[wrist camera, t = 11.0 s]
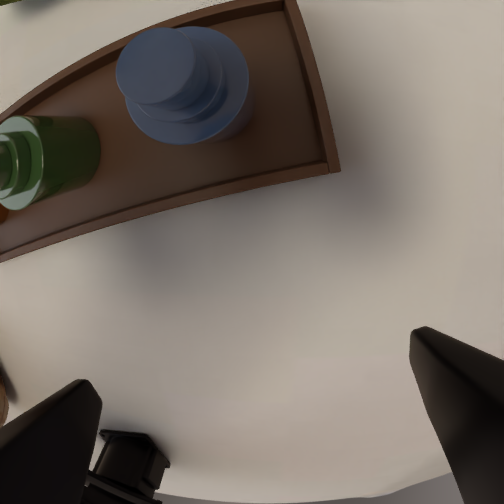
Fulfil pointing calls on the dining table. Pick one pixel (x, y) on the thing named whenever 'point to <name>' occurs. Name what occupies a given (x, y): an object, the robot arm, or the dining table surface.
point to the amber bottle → (3, 213)
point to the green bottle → (45, 158)
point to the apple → (7, 2)
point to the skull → (3, 403)
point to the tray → (183, 156)
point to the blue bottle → (186, 85)
